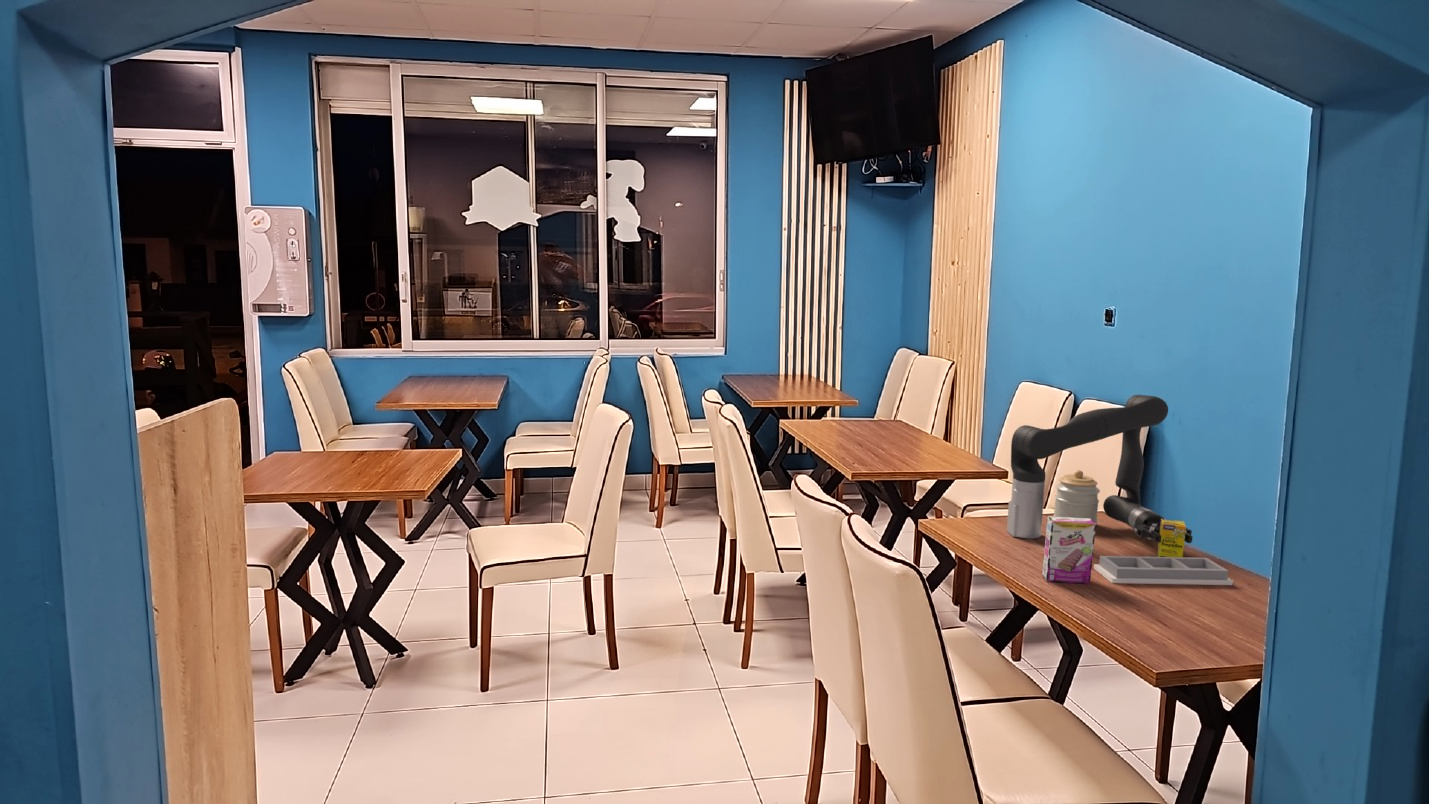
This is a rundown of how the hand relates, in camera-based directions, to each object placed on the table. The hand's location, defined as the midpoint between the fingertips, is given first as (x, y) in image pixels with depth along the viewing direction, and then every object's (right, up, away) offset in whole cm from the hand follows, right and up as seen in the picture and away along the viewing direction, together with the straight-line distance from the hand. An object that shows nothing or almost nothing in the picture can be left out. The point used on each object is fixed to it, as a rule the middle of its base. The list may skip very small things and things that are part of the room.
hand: (1175, 539), depth 247 cm
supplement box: (0, -6, +3) cm, 7 cm away
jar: (-13, -1, +36) cm, 39 cm away
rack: (-9, -8, -11) cm, 17 cm away
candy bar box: (-36, -9, -15) cm, 40 cm away
